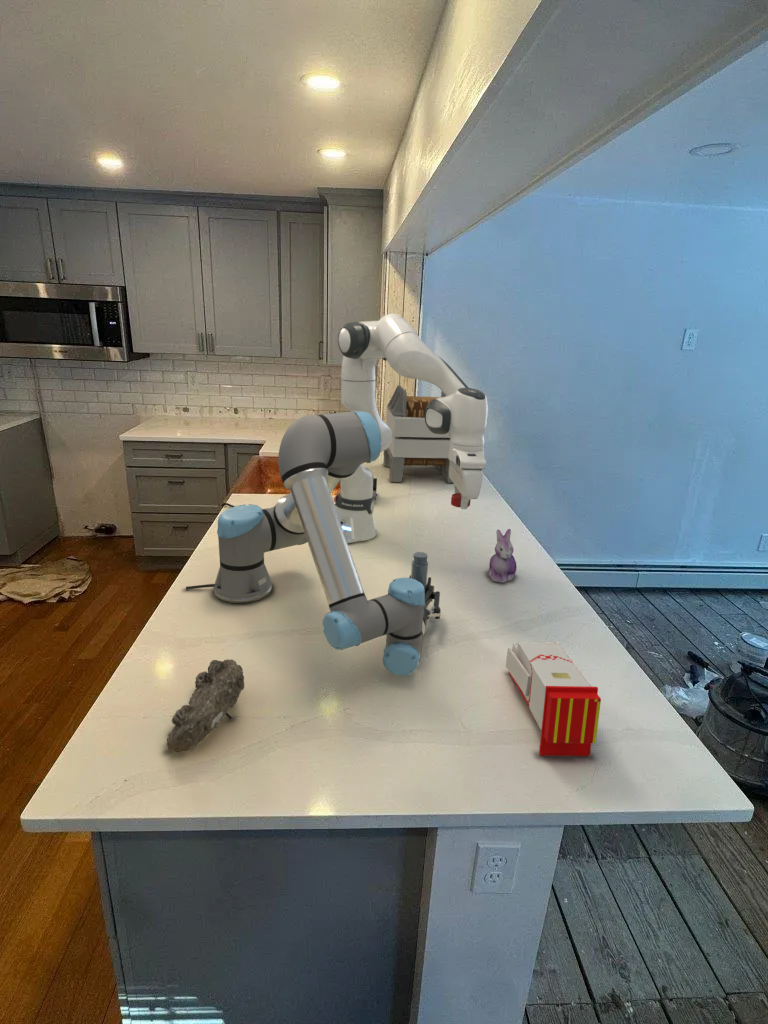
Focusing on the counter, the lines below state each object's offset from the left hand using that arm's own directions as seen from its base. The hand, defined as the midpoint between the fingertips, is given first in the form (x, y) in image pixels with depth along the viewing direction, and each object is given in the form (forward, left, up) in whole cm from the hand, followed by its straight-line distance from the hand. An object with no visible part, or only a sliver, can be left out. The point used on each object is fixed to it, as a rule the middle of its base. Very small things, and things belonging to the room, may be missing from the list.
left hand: (420, 580), depth 152 cm
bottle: (0, -5, -6) cm, 8 cm away
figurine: (+23, +22, -6) cm, 32 cm away
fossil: (-33, -55, -6) cm, 64 cm away
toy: (+30, -37, -6) cm, 48 cm away
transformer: (-14, +128, -6) cm, 129 cm away
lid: (+9, +7, +22) cm, 25 cm away
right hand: (+9, +7, +20) cm, 23 cm away
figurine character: (-30, +82, -6) cm, 87 cm away
